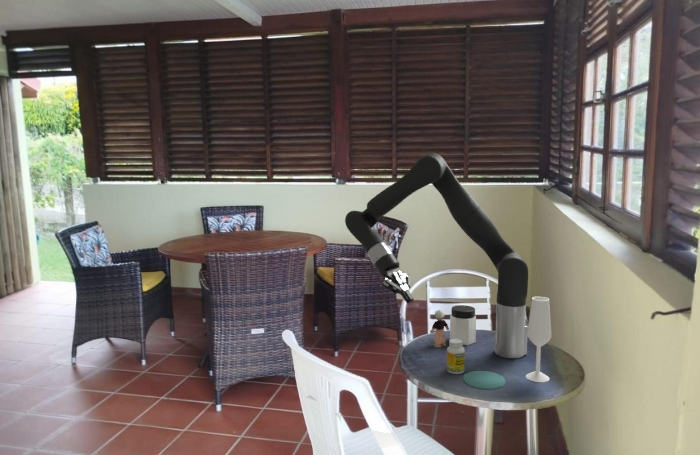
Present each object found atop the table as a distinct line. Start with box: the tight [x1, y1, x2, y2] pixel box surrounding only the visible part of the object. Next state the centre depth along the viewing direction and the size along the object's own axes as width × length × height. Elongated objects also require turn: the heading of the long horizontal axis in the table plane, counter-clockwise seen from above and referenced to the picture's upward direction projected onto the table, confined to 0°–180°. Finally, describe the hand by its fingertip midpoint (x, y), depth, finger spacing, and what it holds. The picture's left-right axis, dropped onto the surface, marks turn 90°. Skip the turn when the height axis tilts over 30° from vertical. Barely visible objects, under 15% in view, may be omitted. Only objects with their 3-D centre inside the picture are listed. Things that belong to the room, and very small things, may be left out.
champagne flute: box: [525, 296, 552, 383], centre depth 160 cm, size 7×7×24 cm
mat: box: [462, 370, 507, 390], centre depth 160 cm, size 12×12×1 cm
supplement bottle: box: [446, 339, 466, 375], centre depth 166 cm, size 5×5×10 cm
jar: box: [449, 304, 477, 346], centre depth 192 cm, size 9×8×12 cm
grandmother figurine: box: [430, 309, 450, 348], centre depth 187 cm, size 8×4×13 cm, turn 133°
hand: (410, 301), depth 176 cm, fingers closed
